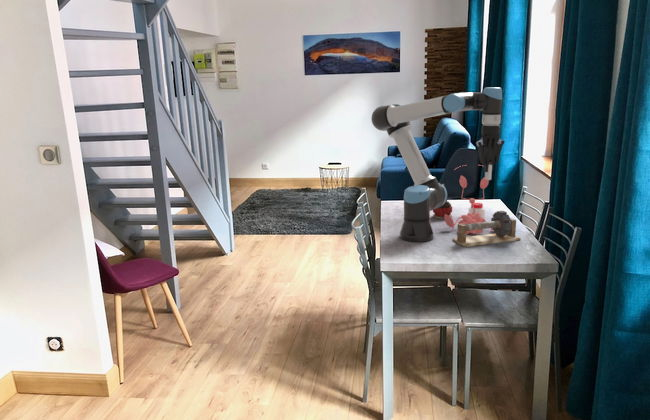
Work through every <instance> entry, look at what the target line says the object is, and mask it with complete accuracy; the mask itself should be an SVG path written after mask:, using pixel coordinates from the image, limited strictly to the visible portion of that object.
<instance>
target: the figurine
mask: <svg viewBox="0 0 650 420" xmlns="http://www.w3.org/2000/svg"><path fill="white" fill-rule="evenodd" d="M463 166H466V164H465V165H463ZM479 166H482V165H481V164H479ZM459 167H460V166H459ZM459 167H456V168H455V170H456V169H458V168H459ZM458 181H459V185H460V186H461V188H462V192H461V199H463V200H465V201H467V200H468V201H469V203H470V205H471V204H472V206H473V203H476V201H478V200H484V199H485V189H486V188H487V187H488V185H489V183H490V182H489V181H490V180H487V179H485V176H484V177H483V178H482V179H481V180H480V183H479V187H480V189H482V194H483V195H482V196H483V197H482V198H477V199H475V198H471V197H470V198H465V197H463V194H464V189H465V188H467V186H468V182H467V181H468V180H467V179H466V177H465V176H463V175H460V177H459V180H458ZM495 184H496V182H495ZM473 210H474V212H475V209H474V206H473ZM474 212H473V214H474ZM473 214H471V213H469V212H468V213H467V214H462V215H461V216H460V217H459V216H458V218H457V219H456V221H454V219H453V218H452V217H450V216H448V215H446V214H445V215H444V220H443V221H444V222H445V225H447V226H448V227H449V228H452V229H454V227H455V226H456V225H458V224H461V223H462V224H472V223H481V222H484V221H485V222H487V221H486V219H484V218H480V215H479V213H475V214H474V215H473ZM459 219H460V220H459ZM490 230H491V231H493V228H490ZM470 233H471V234H472V235H476V233H477V234H482V233H483V229H480V230H471V231H466V235H469V234H470Z"/></svg>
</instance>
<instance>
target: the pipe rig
mask: <svg viewBox="0 0 650 420" xmlns="http://www.w3.org/2000/svg"><path fill="white" fill-rule="evenodd" d="M510 219H511V220H510V221H509V222H511V223H512V227H511V230H510V232H509V234H508V235H506V236H502V237H499V236H497V235H496V232H494V233H489V234H479V235H472V236H467V234H466V231H471V230H480V229H482V230H485V229H491V228H501V221H500V220H497V221H486V222H481V223H472V224H462V223H461V224H458V223H457V232H456V233H457V236H456V238H455V237H453V238H452V242H455V243H456V244H458V245H460V246H462V247H463V248H468V247H473V246H475V247H476V246H481V245H482V246H483V245H484V246H485V245H489V244H490V245H492V244H499V243H506V242H508V243H509V242H514V241H521V237H519V236H517V235H516V232H517V231H516V230H517V229H516V228H517V219H514V218H512V217H510Z"/></svg>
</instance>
